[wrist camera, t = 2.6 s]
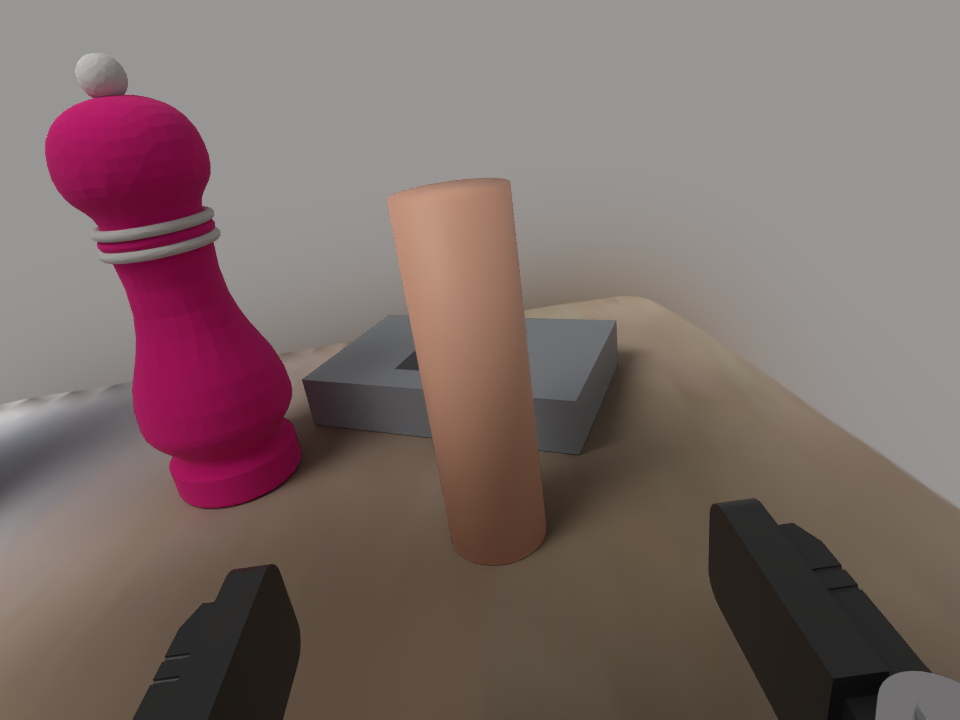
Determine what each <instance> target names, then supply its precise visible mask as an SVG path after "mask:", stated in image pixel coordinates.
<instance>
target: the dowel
mask: <svg viewBox="0 0 960 720" xmlns="http://www.w3.org/2000/svg"><path fill="white" fill-rule="evenodd" d="M387 203H388V209H389V214H390V219H391V224H392V229H393V234H394V240H395V245H396V250H397V256H398V261H399V266H400V271H401V277H402V282H403V287H404V292H405V298H406V303H407V308H408V313H409V318H410V324H411V329H412V334H413V339H414V345H415V350H416V355H417V360H418V366H419V371H420V376H421V381H422V386H423V392H424V397H425V402H426V407H427V413H428V418H429V423H430V428H431V434H432V439H433V444H434V449H435V454H436V460H437V465H438V470H439V475H440V481H441V486H442V491H443V496H444V502H445V507H446V512H447V517H448V522H449V528H450V533H451V538H452V543H453V545H454V547H455V549H456V550H457V552H458V553H459V554H460V555H462V556H463V557H464V558H466V559H468V560H470V561H472V562H475V563H479V564H483V565H504V564H509V563H513V562H516V561H519V560H521V559H523V558H525V557H527V556H529V555H530V554H532V553H533V552H534V551H535V550H536V549H537V548H538V547H539V546H540V545H541V544H542V542H543V540H544V538H545V535H546V530H547V528H546V517H545V508H544V498H543V489H542V479H541V470H540V460H539V451H538V441H537V432H536V422H535V413H534V403H533V394H532V384H531V375H530V365H529V356H528V346H527V337H526V327H525V318H524V309H523V299H522V290H521V280H520V270H519V260H518V251H517V242H516V233H515V224H514V223H515V222H514V213H513V203H512V194H511V184H510V181H509V180H506V179H500V178H476V179H464V180H455V181H448V182H442V183H435V184H430V185H425V186H420V187H416V188H412V189H408V190H404V191H401V192H398V193H396V194H393V195H391V196H390V197H388V199H387Z"/></svg>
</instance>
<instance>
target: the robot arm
mask: <svg viewBox="0 0 960 720" xmlns="http://www.w3.org/2000/svg"><path fill="white" fill-rule="evenodd" d="M709 577H710V583H711V587H712V590H713V593H714V596H715V599H716V601H717V604H718V606H719V608H720V609H721V611H722V613H723V615H724V617H725V619H726V621H727V623H728V625H729V627H730V628H731V630H732V632H733V634H734V636H735V638H736V640H737V642H738V644H739V645H740V647H741V649H742V651H743V653H744V655H745V657H746V659H747V661H748V663H749V664H750V666H751V668H752V670H753V672H754V674H755V676H756V678H757V680H758V682H759V683H760V685H761V687H762V689H763V691H764V693H765V695H766V697H767V699H768V701H769V702H770V704H771V706H772V708H773V710H774V712H775V714H776V716H777V718H778V719H779V720H960V683H958V682H956V681H954V680H952V679H949V678H947V677H944V676H941V675H937V674H934V673H932V672H931V671H930V670H929V669H928V668H927V667H926V666H925V665H924V663H923V662H922V661H921V660H920V659H919V657H918V656H917V655H916V654H915V653H914V651H913V650H912V649H911V648H910V647H909V645H908V644H907V643H906V642H905V641H904V639H903V638H902V637H901V636H900V635H899V633H898V632H897V631H896V630H895V629H894V627H893V626H892V625H891V624H890V623H889V621H888V620H887V619H886V618H885V617H884V615H883V614H882V613H881V612H880V611H879V610H878V608H877V607H876V606H875V605H874V604H873V602H872V601H871V600H870V599H869V598H868V596H867V595H866V594H865V593H864V592H863V590H859V588H858V584H857V583H856V582H855V581H854V580H853V578H852V577H851V576H850V575H849V574H848V572H847V571H846V570H843V569H842V567H841V564H840V563H839V562H838V560H837V559H836V558H835V557H834V556H833V554H832V553H831V552H830V551H829V550H828V548H827V547H826V546H825V545H824V544H823V542H822V541H820V540H819V539H817V538H816V537H814V536H813V535H811V534H809V533H808V532H806V531H805V530H803V529H802V528H800V527H799V526H797V525H795V524H794V523H789V524H782V525H778V524H777V523H776V522H775V520H774V519H773V518H772V516H771V515H770V514H769V513H768V511H767V510H766V509H765V507H764V506H763V505H762V504H761V502H760V501H759V500H757V499H755V498H752V499H744V500H737V501H730V502H723V503H716V504H713V505H712V506H711V509H710V526H709ZM300 644H301V642H300V629H299V624H298V621H297V618H296V616H295V613H294V610H293V607H292V604H291V601H290V599H289V596H288V593H287V590H286V587H285V585H284V582H283V579H282V576H281V573H280V571H279V569H278V567H277V566H276V565H274V564H269V565H262V566H255V567H248V568H241V569H234V570H232V571H230V572H229V573H228V575H227V577H226V579H225V581H224V583H223V585H222V587H221V589H220V591H219V594H218V596H217V598H216V600H215V602H210V603H203V604H202V605H201V606H200V607H199V608H198V609H197V610H196V611H195V612H194V613H193V614H192V615H191V616H190V618H189V619H188V620H187V621H186V622H185V623H184V624H183V625H182V626H181V627H180V628H179V630H178V632H177V634H176V636H175V638H174V640H173V642H172V644H171V646H170V647H169V649H168V651H167V653H166V655H165V662H162V663H161V665H160V667H159V669H158V671H157V673H156V675H155V677H154V679H153V680H154V683H153V685H150V687H149V689H148V691H147V693H146V695H145V697H144V698H143V700H142V702H141V704H140V706H139V708H138V710H137V712H136V714H135V716H134V718H133V720H283V717H284V713H285V709H286V706H287V702H288V698H289V695H290V691H291V687H292V683H293V680H294V676H295V672H296V669H297V665H298V661H299V656H300Z"/></svg>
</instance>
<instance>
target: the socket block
mask: <svg viewBox="0 0 960 720" xmlns="http://www.w3.org/2000/svg"><path fill="white" fill-rule="evenodd" d="M525 327H526V337H527V346H528V356H529V365H530V375H531V384H532V394H533V403H534V413H535V422H536V432H537V441H538V450H542V451H551V452H560V453H568V454H577V455H580V453H581V451H582V448H583V446H584V444H585V441H586V439H587V437H588V434H589V432H590V429H591V427H592V425H593V422H594V420H595V418H596V415H597V413H598V411H599V408H600V406H601V404H602V401H603V399H604V396H605V394H606V392H607V389H608V387H609V385H610V382H611V380H612V378H613V375H614V373H615V371H616V368H617V366H618V355H617V327H616V320H576V319H535V318H525ZM302 381H303V385H304V389H305V392H306V396H307V399H308V403H309V406H310V410H311V413H312V417H313V420H314V424H315V425H324V426H333V427H342V428H350V429H359V430H368V431H377V432H385V433H394V434H403V435H411V436H420V437H429V438H432V434H431V428H430V423H429V418H428V413H427V407H426V402H425V397H424V392H423V386H422V381H421V376H420V371H419V366H418V360H417V355H416V350H415V345H414V339H413V334H412V329H411V324H410V318H409V315H389V316H387V317H386V318H384V319H383V320H382V321H380V322H379V323H378V324H376V325H375V326H374V327H372V328H371V329H370V330H368V331H367V332H366V333H364V334H363V335H362V336H360V337H359V338H357V339H356V340H355V341H353V342H352V343H351V344H349V345H348V346H347V347H345V348H344V349H343V350H341V351H340V352H339V353H337V354H336V355H335V356H333V357H332V358H330V359H329V360H328V361H326V362H325V363H324V364H322V365H321V366H320V367H318V368H317V369H316V370H314V371H313V372H312V373H310V374H309V375H308V376H306V377H305V378H303V379H302Z"/></svg>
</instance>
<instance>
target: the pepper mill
mask: <svg viewBox="0 0 960 720" xmlns="http://www.w3.org/2000/svg"><path fill="white" fill-rule="evenodd" d="M75 73H76V79H77V81H78V83H79V85H80V86H81V88H82V89H83V90H84V91H85V92H86V93H87V94H88V95H89V96H91V97H92V98H94V99H90V100H87V101H84V102H81V103H79V104H76V105H74V106H72V107H71V108H69V109H67V110H66V111H64V112H63V113H62V114H61V115H60V116H58V117H57V118H56V120H55V121H54V122H53V124H52V125H51V127H50V129H49V132H48V135H47V138H46V141H45V155H46V161H47V166H48V169H49V173H50V176H51V179H52V181H53V183H54V185H55V186H56V188H57V190H58V191H59V193H60V194H61V195H62V196H63V198H64V199H65V200H66V201H67V202H69V203H70V204H71V205H72V206H74V207H75V208H77V209H79V210H80V211H82V212H83V213H85V214H86V215H88V216H89V217H90V218H92V219H93V221H95V223H96V224H97V225H98V227H96V228H94V229H93V230H92V231H91V232H90V237H91V239H92V240H94V241H96V242H98V243H97V246H98V249H99V250H100V252H99V254H98V257H99V259H100V260H101V261H102V262H105V263H109V264H113V265H114V267H115V269H116V272H117V274H118V276H119V278H120V279H121V282H122V284H123V286H124V288H125V290H126V293H127V297H128V300H129V303H130V306H131V310H132V313H133V317H134V326H135V333H136V356H135V367H134V378H133V387H132V393H133V405H134V412H135V415H136V419H137V422H138V425H139V428H140V431H141V433H142V435H143V437H144V438H145V440H146V441H147V442H148V443H149V444H150V445H152V446H153V447H154V448H156V449H157V450H159V451H161V452H163V453H166V454H168V455H171V456H173V457H172V459H171V461H170V466H169V469H170V472H171V474H172V477H173V479H174V482H175V484H176V487H177V489H178V492H179V494H180V496H181V497H182V499H183V500H184V501H185V502H187V503H189V504H190V505H192V506H196V507H201V508H223V507H229V506H235V505H238V504H242V503H245V502H248V501H250V500H253V499H255V498H257V497H260V496H262V495H264V494H266V493H268V492H270V491H272V490H273V489H275V488H276V487H278V486H279V485H280V484H282V483H283V482H284V481H286V480H287V479H288V478H289V477H290V476H291V475H292V474H293V473H294V472H295V470H296V468H297V466H298V465H299V463H300V460H301V449H300V445H299V442H298V439H297V435H296V432H295V429H294V426H293V424H292V423H291V422H290V421H289V420H287V419H286V418H283V417H284V415H285V413H286V411H287V409H288V407H289V404H290V401H291V398H292V386H291V381H290V379H289V376H288V374H287V371H286V369H285V367H284V364H283V363H282V361H281V360H280V358H279V356H278V355H277V353H276V352H275V350H274V349H273V347H272V346H271V345H270V344H269V342H268V341H267V340H266V339H265V338H264V337H263V336H262V335H261V334H260V333H259V331H258V330H257V329H256V328H255V327H254V326H253V325H252V324H251V323H250V322H249V320H248V319H247V318H246V317H245V315H244V314H243V313H242V311H241V310H240V309H239V307H238V306H237V304H236V302H235V301H234V299H233V297H232V296H231V294H230V292H229V291H228V288H227V286H226V283H225V281H224V278H223V276H222V273H221V271H220V268H219V265H218V260H217V256H216V251H215V247H214V241H216V240H217V239H218V238H219V236H220V230H219V229H218V228H216V227H215V222H214V221H213V220H212V218H213V216H214V211H213V209H211V208H209V207H205V206H202V195H203V192H204V190H205V187H206V185H207V183H208V181H209V177H210V160H209V154H208V152H207V149H206V146H205V144H204V142H203V140H202V138H201V136H200V134H199V132H198V131H197V129H196V127H195V126H194V125H193V124H192V123H191V122H190V121H189V120H188V118H187V117H186V116H185V115H183V114H182V113H181V112H179V111H178V110H177V109H175V108H174V107H172V106H170V105H168V104H166V103H164V102H161V101H158V100H155V99H152V98H148V97H143V96H137V95H124V94H125V92H126V90H127V86H128V78H127V75H126V73H125V71H124V69H123V67H122V66H121V65H120V64H119V63H118V62H117V61H116V60H115V59H113V58H112V57H110V56H108V55H105V54H102V53H91V54H90V53H89V54H87V55H85V56H83V57H82V58H81V59H80V60H79V61H78V63H77V66H76V70H75Z"/></svg>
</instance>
